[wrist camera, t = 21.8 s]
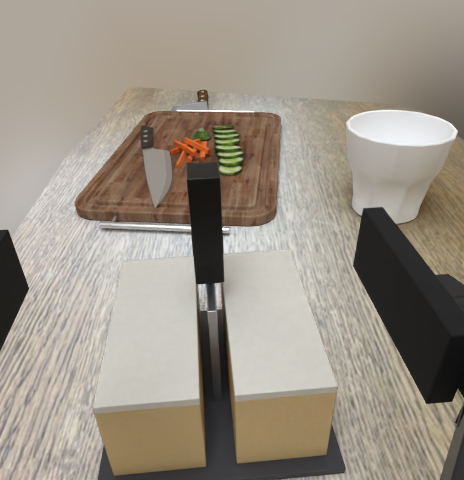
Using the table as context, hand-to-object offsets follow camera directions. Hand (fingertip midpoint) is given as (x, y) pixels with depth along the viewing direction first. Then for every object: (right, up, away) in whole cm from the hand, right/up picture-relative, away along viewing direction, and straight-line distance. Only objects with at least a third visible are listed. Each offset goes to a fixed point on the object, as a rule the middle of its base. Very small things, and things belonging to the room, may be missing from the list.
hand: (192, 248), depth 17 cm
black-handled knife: (0, -10, +19) cm, 22 cm away
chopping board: (-4, +13, +55) cm, 57 cm away
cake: (0, -11, +18) cm, 21 cm away
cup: (+22, +4, +41) cm, 46 cm away
